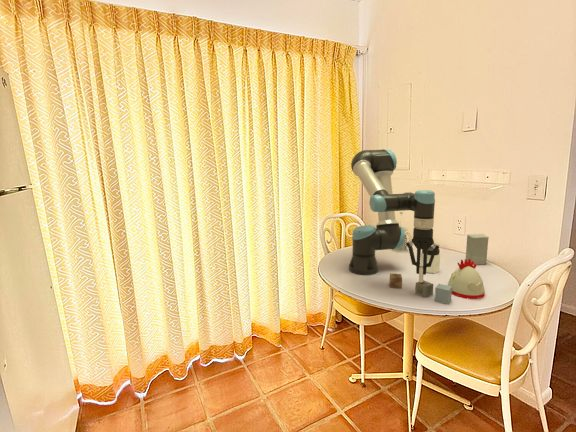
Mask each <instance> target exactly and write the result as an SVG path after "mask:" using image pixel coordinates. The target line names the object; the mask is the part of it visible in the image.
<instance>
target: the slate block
mask: <svg viewBox="0 0 576 432" xmlns="http://www.w3.org/2000/svg"><path fill="white" fill-rule="evenodd" d="M434 288H435V291H434V292H435V293H434V302H436V303H440V304H445V305H449V304H450V303H451V301H452V295H453V294H452V286H448V284H444V283H442V284H441V283H438V284H437V285H436V287H434Z"/></svg>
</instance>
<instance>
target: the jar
mask: <svg viewBox="0 0 576 432" xmlns="http://www.w3.org/2000/svg"><path fill="white" fill-rule="evenodd" d="M432 251H433V245H432V246H431V247H430V248H429V249H428V250H427V263H429V260H430V257H431V254H432ZM440 252H441V251H440V247H439V248H438V250H437V251H436V253H435V256H434V259H433V261H432V264H431V267H427V268H426V274H436V273H439V272H440V266H441V265H440V263H441V254H440ZM423 256H424V250H423V249H421V257H420V266H423Z"/></svg>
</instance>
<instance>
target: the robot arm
mask: <svg viewBox="0 0 576 432" xmlns="http://www.w3.org/2000/svg"><path fill="white" fill-rule="evenodd" d="M397 164H398V161H397V157H396V154H395V152H394V151H392V150H391V149H383V148H382V149H365V150H360V151H358V152H357V153H355V155H354V156H353V158H352V160H351V163H350V168H351V171H352V172H353V174H354V175H355V176H357V178H358V179H359V180H360V182H361V184H362V186H363V187H364V188H365V191H366V192H367V194H368V196H369V207H370V210H371V211H372V212H374V213H377V216H378V221H377V223H376V225H371V224H369V225H367V224H365V225H360V226H357V227H355V228H353V230H352V236H351V238H352V248H351V249H352V252H351V253H352V255H351V259H350V262H349V263H348V270H349V271H350V272H351V273H353V274H357V275H362V276H363V275H364V276H366V275H367V276H368V275H375V274H376V273H378V272H379V264H378V261H377V259H376V251H384V250H388V251H389V250H392V249H398V248H400V247H402V245H403V243H404V240H405V233H406V231H404V229H403V228H402V227H403V226H401V225H400V222H398V221H397V220H396V212H398V211H399V212H404V211H413V231H412V232H413V233H412V235H413V236H412V238H411V241H407V243H406V245H407V249H408V253H409V256H410V261H411V265H412V266H416V268H415V269H416V270H415V272H416V274H417V275H418V282H423V280H424V275H427V273H426V268H427V267H431V264H432V261H433V259H434V256H435V253H436V251H437V250H438V248H439V249H440V244H437V243H436V242H435V240H434V229H433V228H434V223H435V221H434V220H435V218H434V217H435V206H436V205H435V203H436V199H435V195H436V194H435V192H434V191H433V190H428V189H427V190H426V189H424V190H421V189H419V190H418V189H417V190H416V191H414V193H413V192H411V191H409V192H402V193H393V186H392V184H393V183H392V178H391V177H392V175H393V174H394V171H395V170H396V168H397ZM406 245H405V246H406ZM413 246H414V247H415V248H416V257H415V253H414V248H413ZM431 246H433V251H432V254H431V257H430V260H429V263H427V250H428V249H429V248H430V247H431ZM422 249H423V250H424V256H423V266H420V263H421V252H422Z"/></svg>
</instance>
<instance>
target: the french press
mask: <svg viewBox="0 0 576 432" xmlns="http://www.w3.org/2000/svg"><path fill="white" fill-rule="evenodd" d="M399 214H400V215H403V214H404V211H399ZM401 227H402V228H403V229H404V232H405V240H404V243H403V245H402V247H400V248H398V249H391V251H392V252H395V253H401V254H403V253H407V252H408V253H409V249H408V247H407V245H406V243H407V242H410V241H412V239H411V238H412V236H411V234H409V232H407V231H408V229H407V227H404V226H401ZM408 234H409V236H408V238H407V235H408ZM408 239H409V240H408Z"/></svg>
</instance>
